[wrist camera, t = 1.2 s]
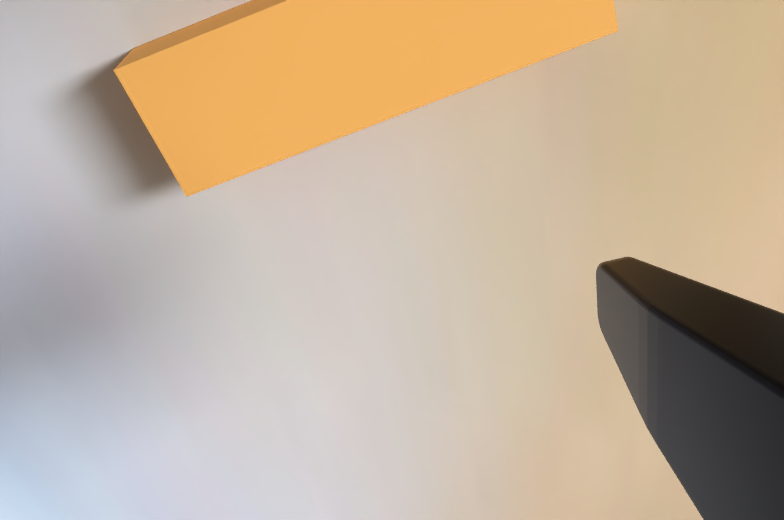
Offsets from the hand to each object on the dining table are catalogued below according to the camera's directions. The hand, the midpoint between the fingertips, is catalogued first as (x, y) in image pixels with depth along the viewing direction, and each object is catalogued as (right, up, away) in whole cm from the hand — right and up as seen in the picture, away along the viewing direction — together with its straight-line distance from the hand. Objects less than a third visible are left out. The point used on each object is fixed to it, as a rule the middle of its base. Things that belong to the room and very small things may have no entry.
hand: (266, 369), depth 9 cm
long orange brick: (+1, +8, +10) cm, 13 cm away
